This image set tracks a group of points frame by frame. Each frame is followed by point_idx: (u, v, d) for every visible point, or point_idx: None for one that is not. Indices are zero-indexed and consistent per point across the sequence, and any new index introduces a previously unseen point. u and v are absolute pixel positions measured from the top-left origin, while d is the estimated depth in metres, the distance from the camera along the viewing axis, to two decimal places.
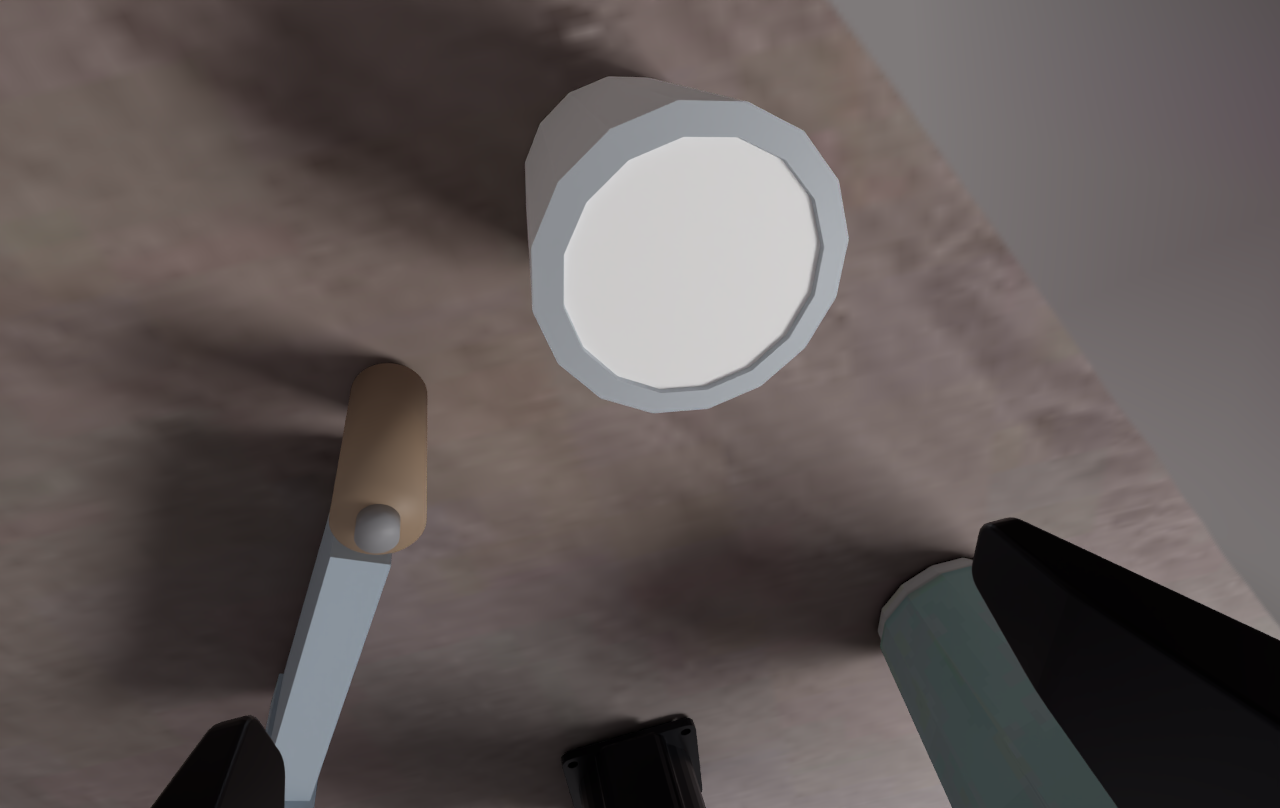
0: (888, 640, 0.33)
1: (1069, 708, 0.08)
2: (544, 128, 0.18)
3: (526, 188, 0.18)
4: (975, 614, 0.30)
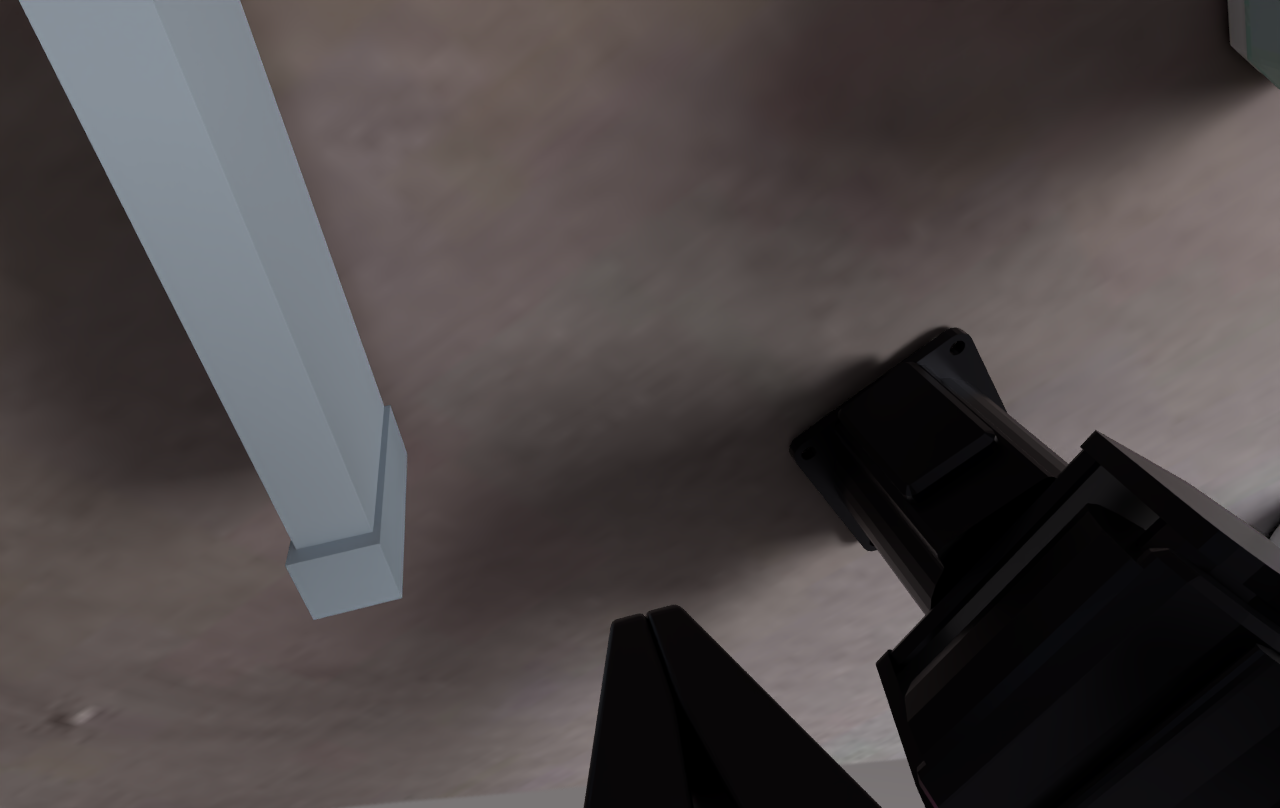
0: (1264, 18, 0.18)
1: None
2: None
3: None
4: None
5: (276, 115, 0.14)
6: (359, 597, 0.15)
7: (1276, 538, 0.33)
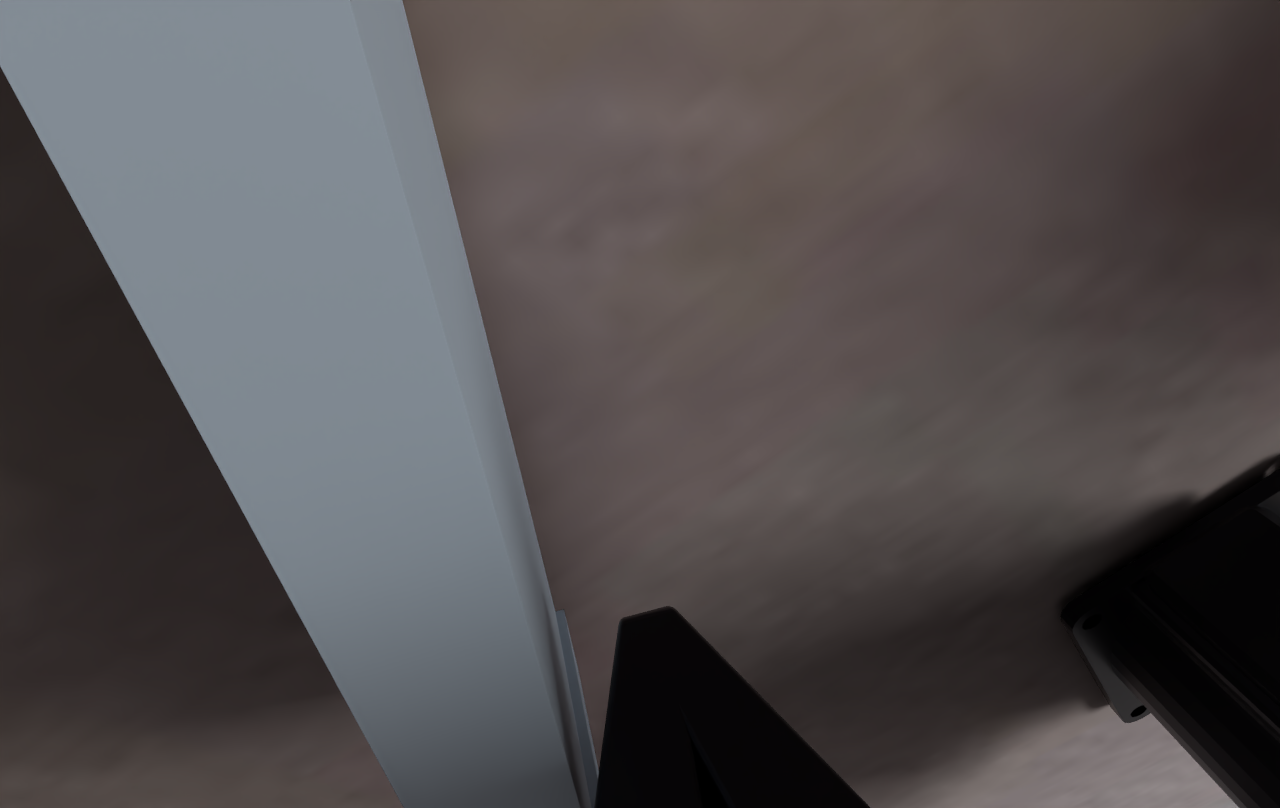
0: None
1: None
2: None
3: None
4: None
5: (453, 213, 0.08)
6: None
7: None
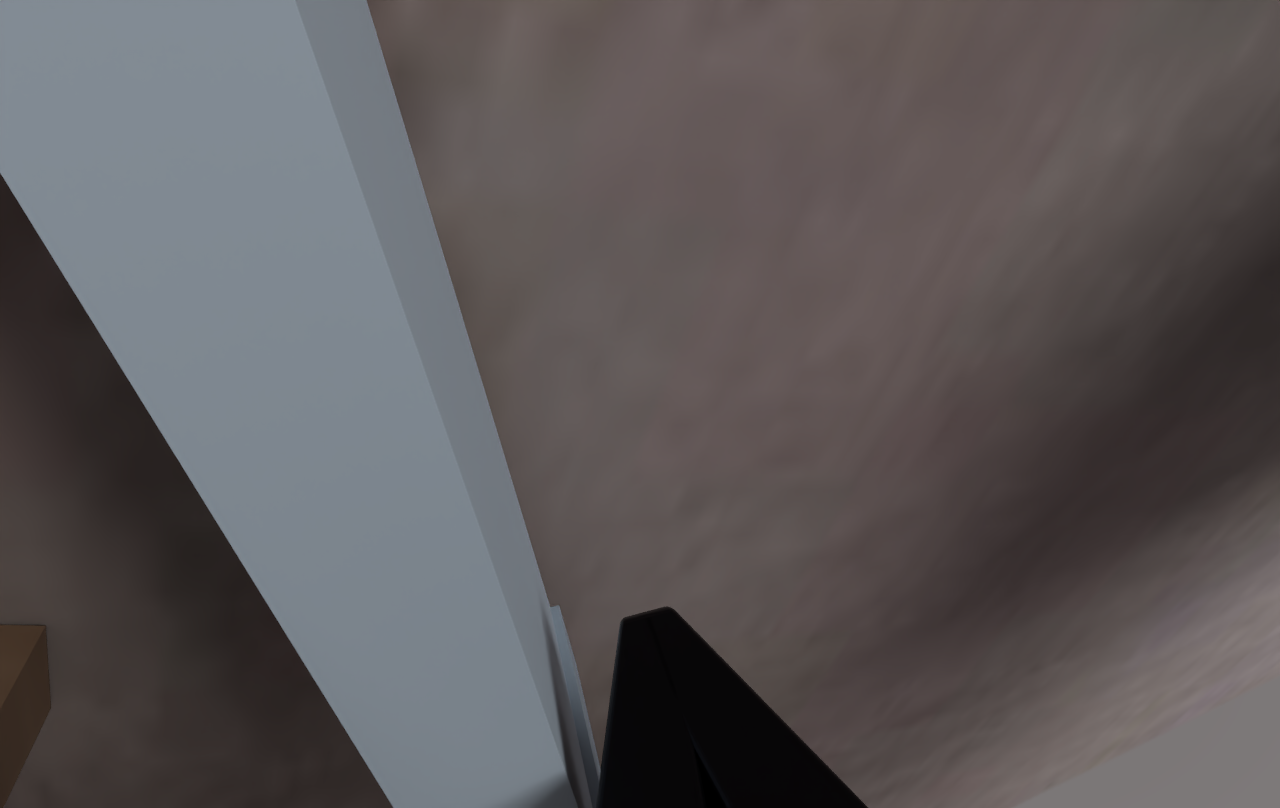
0: None
1: None
2: None
3: None
4: None
5: (424, 200, 0.08)
6: None
7: None
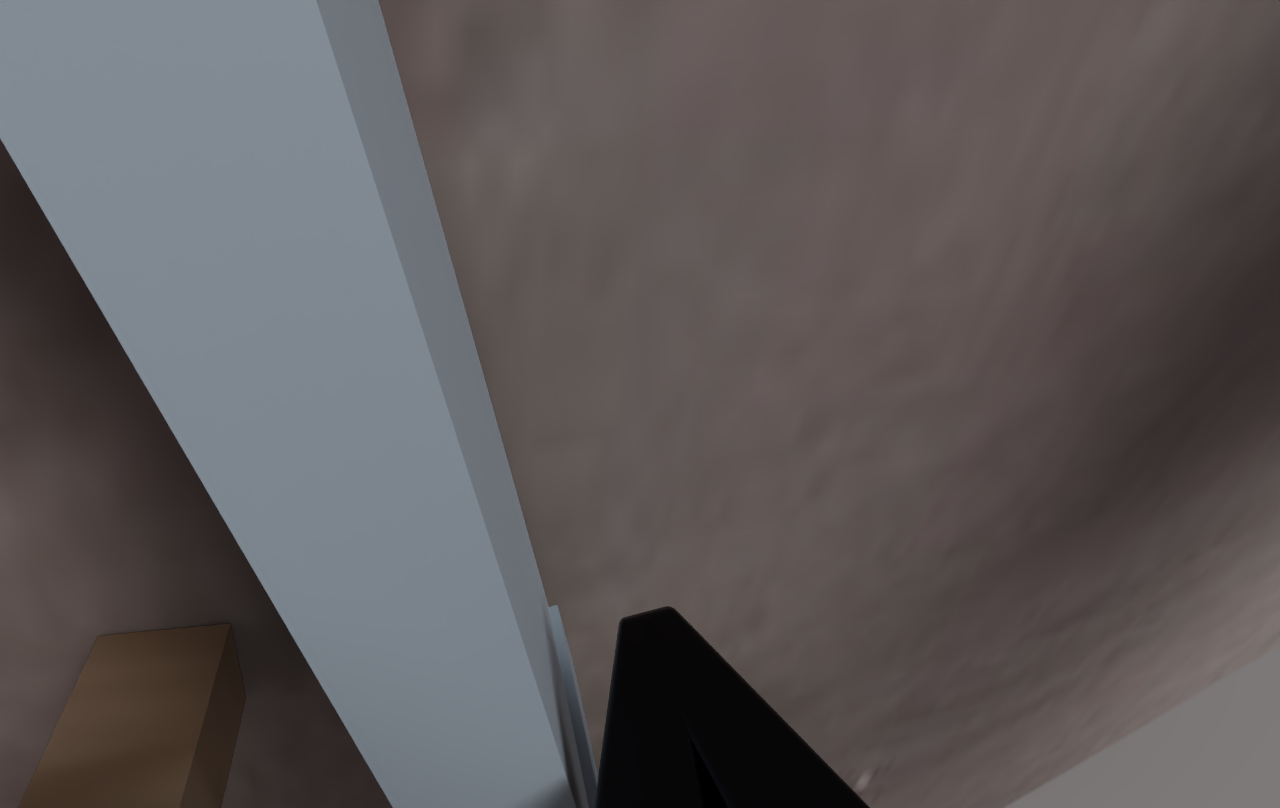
0: None
1: None
2: None
3: None
4: None
5: (431, 196, 0.08)
6: None
7: None
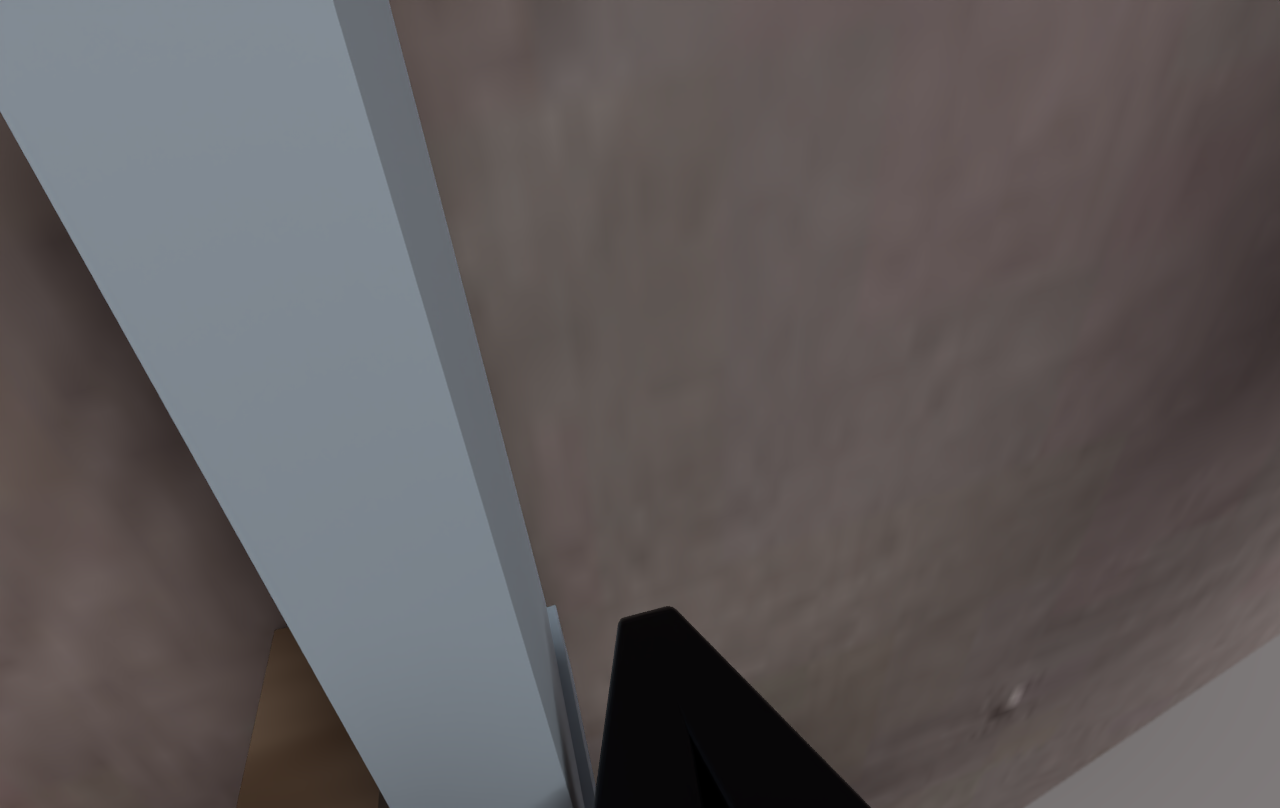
0: None
1: None
2: None
3: None
4: None
5: (436, 193, 0.08)
6: None
7: None
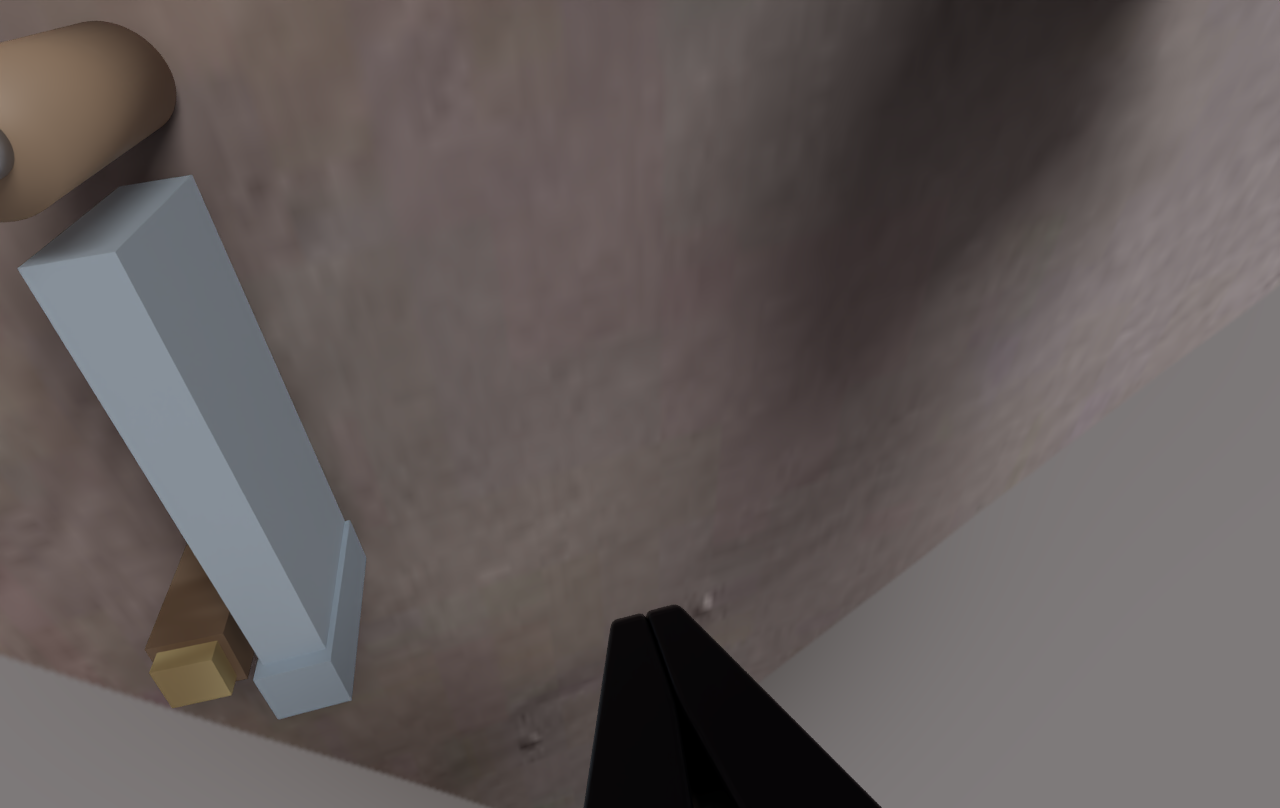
0: None
1: None
2: None
3: None
4: None
5: (246, 312, 0.18)
6: (316, 701, 0.18)
7: None
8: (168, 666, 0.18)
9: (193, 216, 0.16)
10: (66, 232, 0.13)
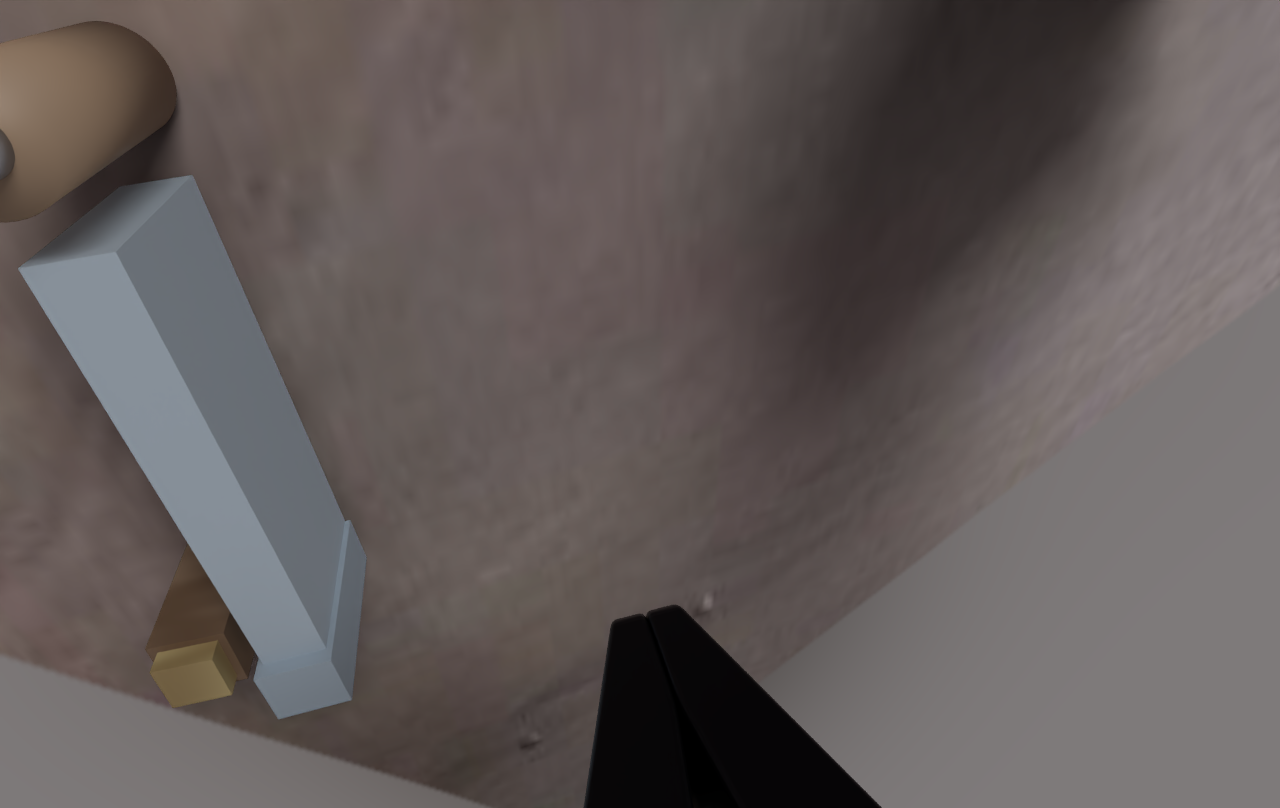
0: None
1: None
2: None
3: None
4: None
5: (246, 312, 0.18)
6: (316, 701, 0.18)
7: None
8: (168, 666, 0.18)
9: (193, 216, 0.16)
10: (66, 232, 0.13)
